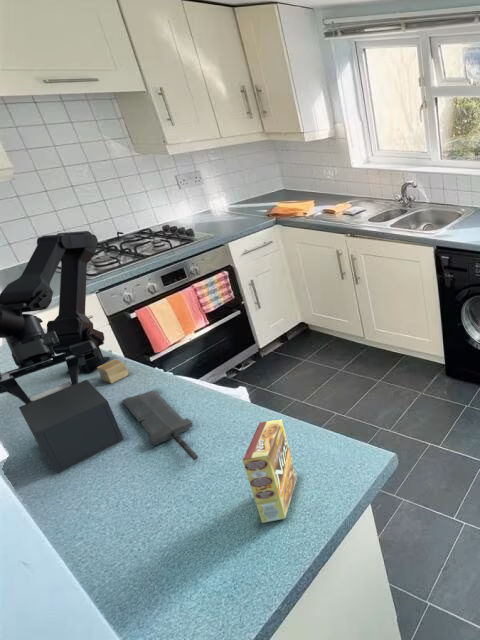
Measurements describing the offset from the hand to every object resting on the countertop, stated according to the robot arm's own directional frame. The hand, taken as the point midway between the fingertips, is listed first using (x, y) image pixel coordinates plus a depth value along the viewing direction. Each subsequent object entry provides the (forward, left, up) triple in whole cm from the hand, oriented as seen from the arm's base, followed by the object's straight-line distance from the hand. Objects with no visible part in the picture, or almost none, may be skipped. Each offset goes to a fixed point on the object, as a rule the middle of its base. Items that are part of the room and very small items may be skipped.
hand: (54, 399), depth 93 cm
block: (-18, -2, -8) cm, 20 cm away
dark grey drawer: (+3, +4, -7) cm, 8 cm away
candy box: (+25, +54, -8) cm, 60 cm away
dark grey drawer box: (+6, +7, -8) cm, 12 cm away
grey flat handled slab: (+2, +22, -8) cm, 23 cm away
